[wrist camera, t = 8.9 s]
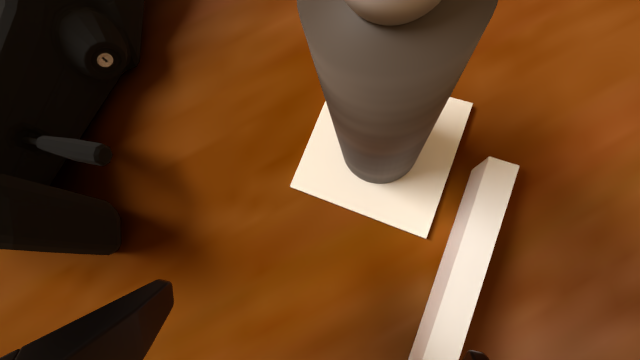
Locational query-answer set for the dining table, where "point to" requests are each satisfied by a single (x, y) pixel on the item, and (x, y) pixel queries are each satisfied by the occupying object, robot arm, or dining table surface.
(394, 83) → the pepper mill
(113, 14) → the black looped hood device
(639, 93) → the dining table surface
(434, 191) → the coaster
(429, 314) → the low frosted rail
